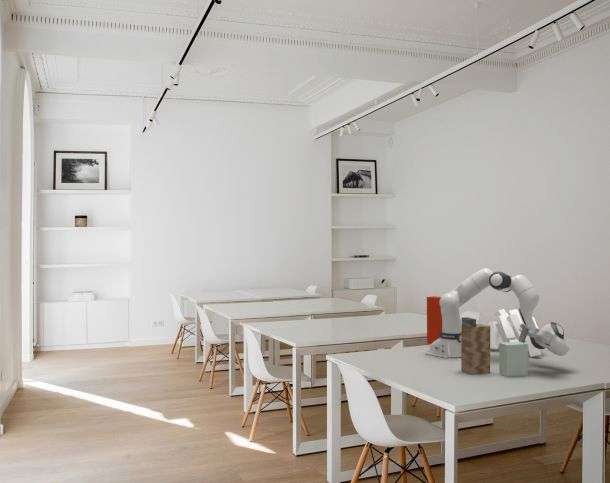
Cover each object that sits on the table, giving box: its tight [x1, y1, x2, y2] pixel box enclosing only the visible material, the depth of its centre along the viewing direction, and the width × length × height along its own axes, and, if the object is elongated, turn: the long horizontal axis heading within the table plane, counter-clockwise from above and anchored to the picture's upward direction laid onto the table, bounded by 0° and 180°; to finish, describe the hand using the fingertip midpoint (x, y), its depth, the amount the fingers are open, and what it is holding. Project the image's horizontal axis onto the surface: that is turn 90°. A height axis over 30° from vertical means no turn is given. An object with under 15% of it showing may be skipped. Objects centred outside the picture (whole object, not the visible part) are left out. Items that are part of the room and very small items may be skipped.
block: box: [498, 342, 529, 378], centre depth 306 cm, size 12×7×16 cm, turn 106°
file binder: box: [426, 295, 442, 345], centre depth 393 cm, size 8×17×32 cm, turn 36°
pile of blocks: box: [488, 308, 542, 358], centre depth 367 cm, size 35×30×35 cm
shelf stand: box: [460, 316, 491, 375], centre depth 313 cm, size 12×9×29 cm
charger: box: [509, 324, 529, 343], centre depth 312 cm, size 17×5×7 cm
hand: (524, 325), depth 308 cm, fingers closed on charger, 4 cm apart
